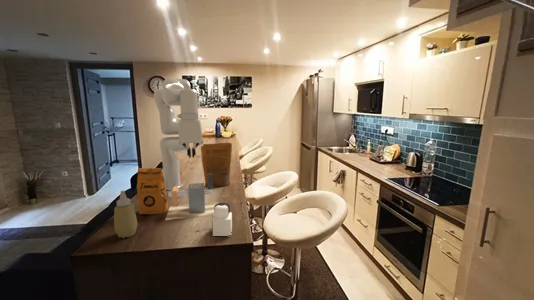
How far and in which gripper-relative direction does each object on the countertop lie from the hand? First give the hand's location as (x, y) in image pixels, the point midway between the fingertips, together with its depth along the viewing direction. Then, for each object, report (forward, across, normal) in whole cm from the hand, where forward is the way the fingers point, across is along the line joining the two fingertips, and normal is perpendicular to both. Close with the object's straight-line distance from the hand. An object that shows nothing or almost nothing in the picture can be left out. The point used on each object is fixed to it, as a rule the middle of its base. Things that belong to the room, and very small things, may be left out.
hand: (191, 156), depth 114 cm
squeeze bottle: (+27, -25, -16) cm, 40 cm away
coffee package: (+27, -19, +4) cm, 33 cm away
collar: (+22, -8, 0) cm, 24 cm away
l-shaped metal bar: (+18, -1, 0) cm, 18 cm away
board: (+27, 0, 0) cm, 27 cm away
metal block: (+26, +2, 0) cm, 26 cm away
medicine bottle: (+27, +12, -23) cm, 38 cm away
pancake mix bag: (+27, +13, +38) cm, 49 cm away
